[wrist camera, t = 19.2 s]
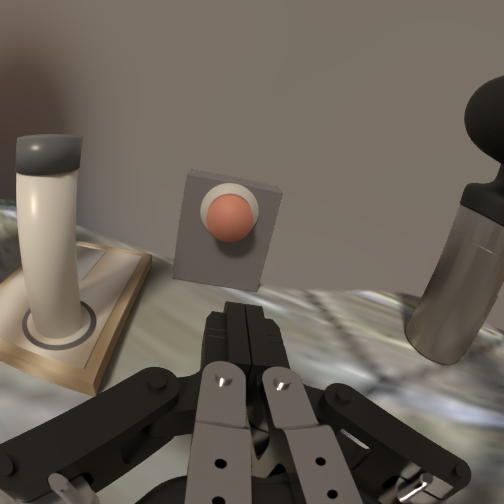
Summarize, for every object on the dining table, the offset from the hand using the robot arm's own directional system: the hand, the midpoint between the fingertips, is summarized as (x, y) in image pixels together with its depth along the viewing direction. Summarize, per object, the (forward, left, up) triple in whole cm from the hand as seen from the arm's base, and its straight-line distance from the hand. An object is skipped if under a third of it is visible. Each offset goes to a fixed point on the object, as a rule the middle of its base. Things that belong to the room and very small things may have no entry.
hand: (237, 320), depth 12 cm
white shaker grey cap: (+13, -6, -8) cm, 16 cm away
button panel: (0, -21, -10) cm, 23 cm away
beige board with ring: (+15, -11, -10) cm, 21 cm away
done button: (0, -17, -3) cm, 17 cm away
